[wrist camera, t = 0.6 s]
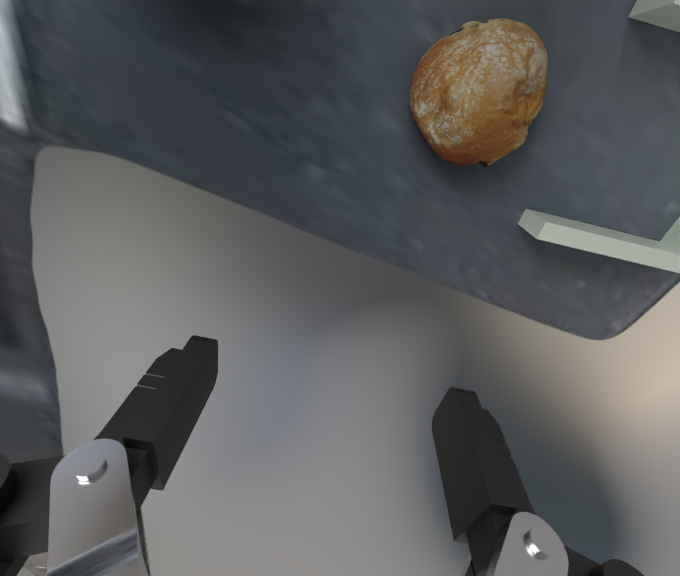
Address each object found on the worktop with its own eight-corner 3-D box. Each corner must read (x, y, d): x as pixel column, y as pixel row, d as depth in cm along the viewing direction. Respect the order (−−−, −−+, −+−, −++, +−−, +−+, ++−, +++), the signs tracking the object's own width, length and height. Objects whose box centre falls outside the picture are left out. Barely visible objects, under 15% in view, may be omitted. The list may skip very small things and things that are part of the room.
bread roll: (505, 29, 27) (539, -55, 20) (549, 142, 28) (600, 101, 20) (396, 91, 30) (388, 37, 22) (438, 192, 30) (444, 174, 23)
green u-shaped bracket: (643, -12, 23) (692, -31, 19) (837, 47, 24) (917, 39, 21) (517, 223, 32) (536, 238, 29) (662, 259, 33) (697, 277, 30)
